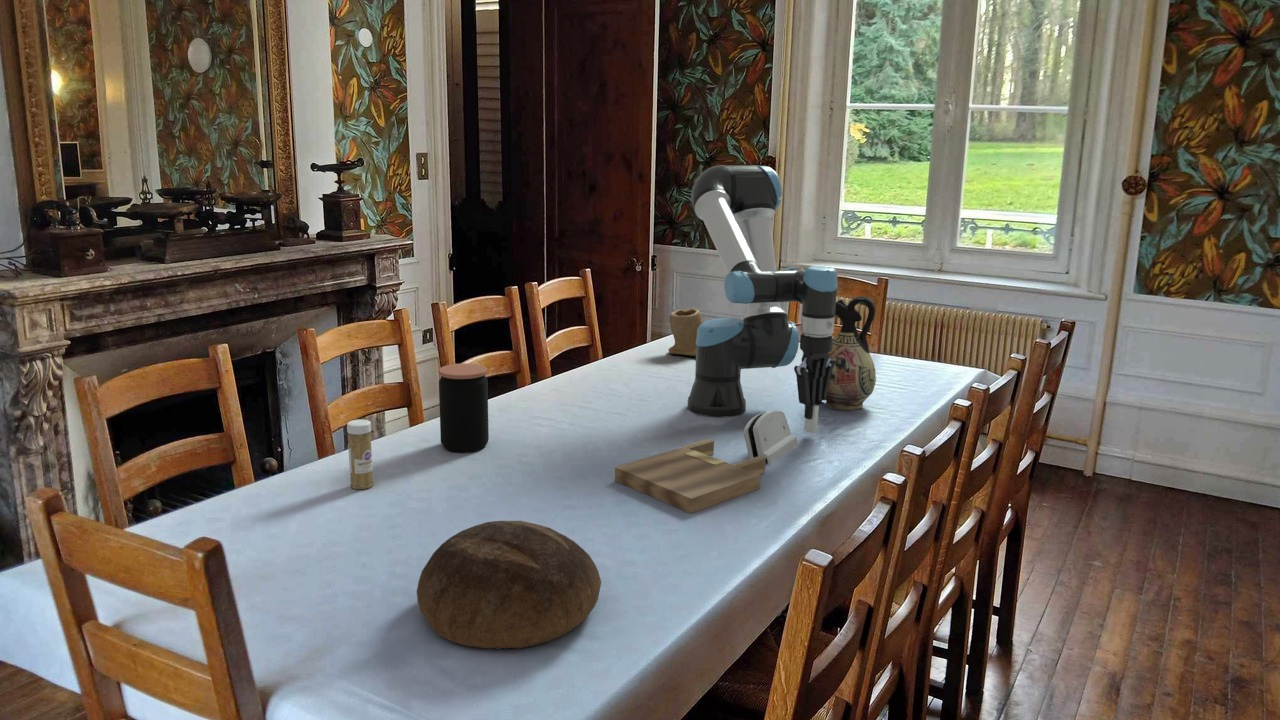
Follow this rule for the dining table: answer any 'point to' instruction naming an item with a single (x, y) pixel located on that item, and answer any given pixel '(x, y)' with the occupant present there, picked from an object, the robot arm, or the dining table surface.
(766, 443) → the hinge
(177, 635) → the dining table surface
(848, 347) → the ceramic jug
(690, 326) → the stone cup
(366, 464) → the sprinkles bottle
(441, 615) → the bread
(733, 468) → the brown flat wooden slab
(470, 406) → the coffee jar
